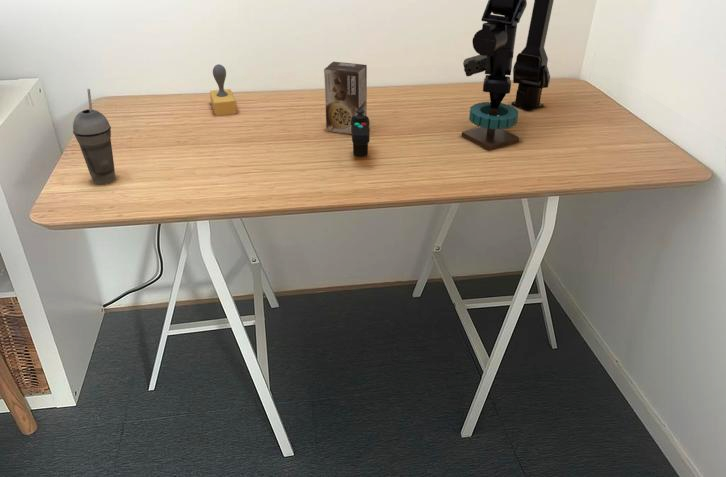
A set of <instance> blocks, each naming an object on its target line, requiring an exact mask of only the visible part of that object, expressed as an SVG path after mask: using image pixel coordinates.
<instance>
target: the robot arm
mask: <svg viewBox="0 0 726 477" xmlns="http://www.w3.org/2000/svg"><path fill="white" fill-rule="evenodd" d="M554 1H555V0H534V2H533V6H532V12H531V17H530V22H529V27H528V33H527V39H526V44H525V47H524V48H523V49H522V50H521V52H518V54H517V55H516V59H515V63H514V65H513V59H514V50H515V43H516V36H517V30H518V24H519V23H520V22H521V18H522V17H523V14H524V12H525V11H526V8H527V6H528V4H527V2H528V1H527V0H488V1H487V3H486V5H485V8H484V11H483V13H482V16H481V22H482V25H481V29H479V30H478V31H476V32H475V33H474V36H473V37H472V48H473V50H474V51H475V52H476V54H478V55H473V56H470V57H467V58H465V59H464V60H463V63H462V65H463V71H464V73H465V76H466V77H471V76H473V75H476V74H480V73H484V75H485V77H484V78H483V85H482V92H484V93H489V103H490V102H491V108H498V107H499V105H500V103H503V100H504V98H505V97H506V95H509V94H511V87H512V83H513V84H518V86H517V90H516V94H515V100H514V101H511V105H512V106H515V107H518V108H520V109H523V110H525V111H532V110H535V109H539V108H544V103H541V98H542V92H543V89H547V88H549V84H550V82H551V74H550V70H549V67H548V61H549V58H548V55H547V52H546V50H545V46H546V45H545V44H546V39H547V36H548V31H549V30H548V29H549V25H550V20H551V16H552V11H553V10H552V9H553V7H554ZM511 75H512V79H513V80H511V77H510V76H511Z"/></svg>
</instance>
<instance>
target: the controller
mask: <svg viewBox="0 0 726 477" xmlns="http://www.w3.org/2000/svg"><path fill="white" fill-rule="evenodd" d="M364 112H365V111H364V110H363V109H358V110H356V113H357V115H356V116H353V117H352V118H351V134H350V135H351V142H352V154H353V157H355V158H366V157H367V156H368V153H369V143H370V142H371V141H370V134H371V133H370V132H371V131H370V118H369V117H368V116H364V115H363V113H364Z"/></svg>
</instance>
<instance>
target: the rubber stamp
mask: <svg viewBox="0 0 726 477" xmlns="http://www.w3.org/2000/svg"><path fill="white" fill-rule="evenodd" d="M212 76H213V78H214V80H215V82H216V85H217V86H218V89H213V90H212V89H211V90H209V97H210V103H211V106H212V109H213V112H214V115H215V116H227V115H228V116H229V115H235V114H237V113H238V109H237V102H236V101H237V100H236V98H235V95H234V93H233V91H232V90H231V88H225V87H224V86H225V81H226V78H227V70H226V67H225V65H222V64H220V63H219V64H216V65H214V66H213V68H212Z"/></svg>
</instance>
